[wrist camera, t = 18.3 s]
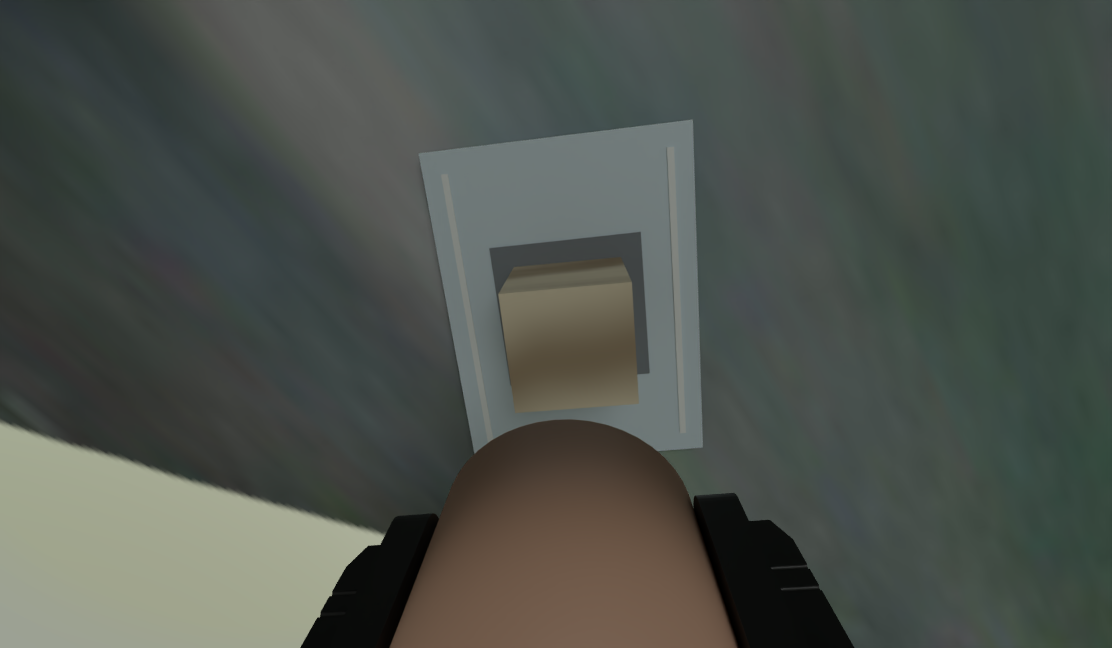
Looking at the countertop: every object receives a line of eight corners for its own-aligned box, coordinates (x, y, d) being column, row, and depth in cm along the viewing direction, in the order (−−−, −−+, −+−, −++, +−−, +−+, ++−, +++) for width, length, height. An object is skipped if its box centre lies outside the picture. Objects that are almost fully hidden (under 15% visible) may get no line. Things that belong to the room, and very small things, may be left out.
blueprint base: (424, 153, 24) (417, 153, 23) (687, 121, 23) (693, 119, 22) (479, 454, 29) (476, 466, 27) (698, 437, 28) (703, 448, 27)
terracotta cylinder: (423, 430, 10) (276, 691, 5) (690, 408, 9) (806, 666, 5) (466, 632, 11) (384, 980, 6) (698, 620, 11) (791, 979, 6)
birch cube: (513, 267, 24) (498, 293, 19) (620, 257, 24) (631, 282, 19) (526, 365, 26) (515, 412, 21) (627, 357, 25) (638, 403, 20)
